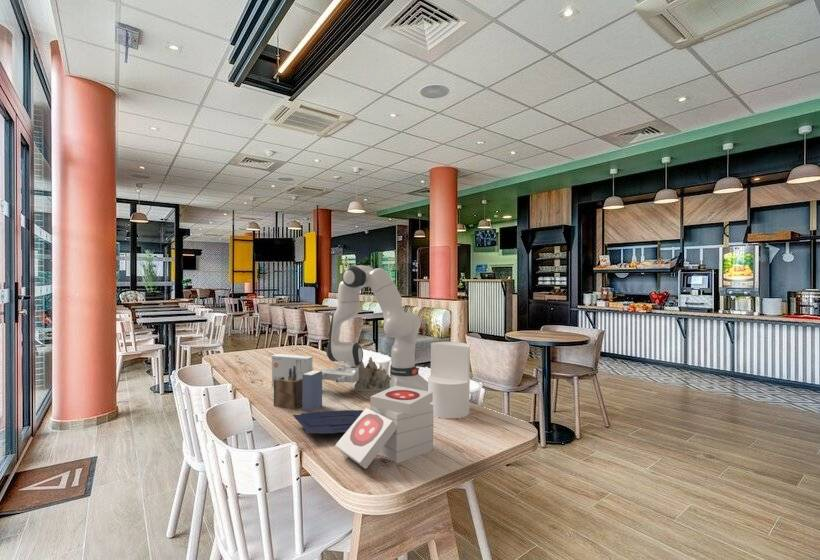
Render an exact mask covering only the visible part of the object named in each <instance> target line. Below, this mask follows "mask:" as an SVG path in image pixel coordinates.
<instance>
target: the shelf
mask: <svg viewBox="0 0 820 560" xmlns="http://www.w3.org/2000/svg"><path fill="white" fill-rule="evenodd" d="M302 380H303V379H298V380H295V381H290V380H284V377H279V378H277V379H274V386H273V406H274V407H280V408H286V409H293V410H296V409H297V408H299V407H302Z"/></svg>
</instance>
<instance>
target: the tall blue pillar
mask: <svg viewBox="0 0 820 560" xmlns="http://www.w3.org/2000/svg"><path fill="white" fill-rule="evenodd" d="M322 406H323V380H322V371H318V370H314V369H313V371H310V372H308V373H305V374H303V380H302V406H301V407H302V409H301V410H302V411H305V412H306V411H307V412H312V411H315V410H316V409H318V408H321V407H322Z"/></svg>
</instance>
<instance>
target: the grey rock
mask: <svg viewBox="0 0 820 560" xmlns="http://www.w3.org/2000/svg"><path fill="white" fill-rule="evenodd" d="M390 381H391V377H390V374H387V372H386V369H385V368H384V369H379V368H378V366H377V364H376V362H375V361H373V358H372V357H371V356H370V357H369V358H368V362H367V364H366V366H365V363H364V362H363V363H360V368H359V381H357V382H355V384H354V387H353V389H354V391H358V392H382V391H384V390H387V389H389V388H390Z"/></svg>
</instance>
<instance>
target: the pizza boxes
mask: <svg viewBox="0 0 820 560" xmlns="http://www.w3.org/2000/svg"><path fill="white" fill-rule="evenodd" d="M431 402H433V392H429V391H423V390H417V389H412V388H406V387H401V386H394V387H391V388H389V389H387V390H384V391H379V392H378V393H376V394H373V395H371V396H370V402H369V404H370V405H369V406H370V409H369V408H367V407H366V408H364V410H363V412H362V413H361V415H360V416H359V417H358V418H357V419H356V421H355V422H354V423H353V424H352V425H351V427H350V428H349V429H348V430H347V432H344V434H343V435H342V436H341V437H340V439H339V440H338V441H337V442H336V444H334V445H335V447H336V448H337V449H338V450H339V451H340V452H341V453H343V454H344V455H345V456H347V457H348V458H349V459H351V460H352V461H354V462H355V463H356V464H358V465H359V466H361V467H362V468H363V469H365V470H366V469H367V468H368V467H369V466H370V464H371V463H372V462H373V460H374V459H375V458H376V456H377V455H378V453H379V454H381V455H383V456H384V457H386V458H387V459H389V460H391V461H392V462H394V463H395V464H398V463H401V462H403V461H407V460H409V459H412V457H413V458H416V457H418V456H421V455H424V454H427V453H430V452H431V450H432V451H434V416H433V405H432V404H429V403H431ZM429 451H430V452H429ZM426 452H427V453H426ZM423 453H424V454H423ZM415 456H416V457H415Z"/></svg>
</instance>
